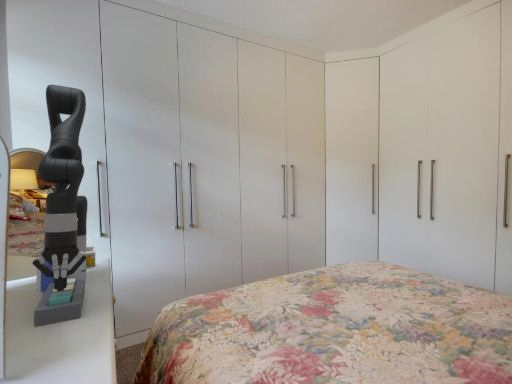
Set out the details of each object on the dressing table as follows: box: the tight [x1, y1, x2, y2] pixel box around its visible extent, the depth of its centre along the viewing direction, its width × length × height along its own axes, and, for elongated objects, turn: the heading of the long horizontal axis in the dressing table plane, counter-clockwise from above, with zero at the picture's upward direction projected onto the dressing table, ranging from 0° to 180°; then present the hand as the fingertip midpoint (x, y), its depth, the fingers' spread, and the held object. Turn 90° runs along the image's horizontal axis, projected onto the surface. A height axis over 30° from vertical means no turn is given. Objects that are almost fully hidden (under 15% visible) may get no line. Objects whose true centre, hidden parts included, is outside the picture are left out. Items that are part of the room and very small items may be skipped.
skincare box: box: [67, 251, 87, 280], centre depth 101 cm, size 6×4×12 cm
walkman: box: [35, 256, 61, 293], centre depth 95 cm, size 8×3×12 cm, turn 75°
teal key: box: [49, 291, 72, 306], centre depth 76 cm, size 5×5×4 cm
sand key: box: [53, 284, 74, 294], centre depth 82 cm, size 5×5×4 cm
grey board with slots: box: [33, 278, 86, 327], centre depth 82 cm, size 24×10×4 cm, turn 30°
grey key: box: [67, 278, 75, 287], centre depth 88 cm, size 5×5×4 cm
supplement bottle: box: [86, 244, 96, 270], centre depth 125 cm, size 5×5×10 cm
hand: (60, 290), depth 76 cm, fingers closed
